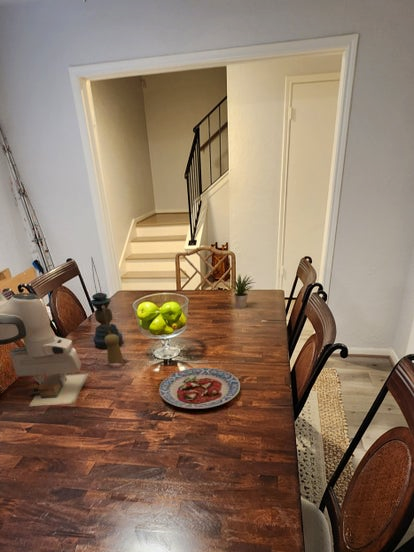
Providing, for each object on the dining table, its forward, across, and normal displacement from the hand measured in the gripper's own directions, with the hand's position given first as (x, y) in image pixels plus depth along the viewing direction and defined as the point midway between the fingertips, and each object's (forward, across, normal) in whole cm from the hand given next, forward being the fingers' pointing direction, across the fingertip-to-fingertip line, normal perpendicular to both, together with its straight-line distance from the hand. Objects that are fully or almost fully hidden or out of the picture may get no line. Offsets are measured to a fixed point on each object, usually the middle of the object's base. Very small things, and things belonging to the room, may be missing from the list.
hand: (53, 385), depth 122 cm
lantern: (+3, +11, +39) cm, 41 cm away
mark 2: (+1, -5, 0) cm, 5 cm away
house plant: (+4, +72, +78) cm, 106 cm away
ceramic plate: (+3, +48, -6) cm, 48 cm away
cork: (+3, +17, +20) cm, 26 cm away
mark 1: (+1, -5, +4) cm, 6 cm away
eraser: (+2, 0, 0) cm, 2 cm away
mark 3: (+1, -4, -3) cm, 6 cm away
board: (+3, +2, 0) cm, 3 cm away
